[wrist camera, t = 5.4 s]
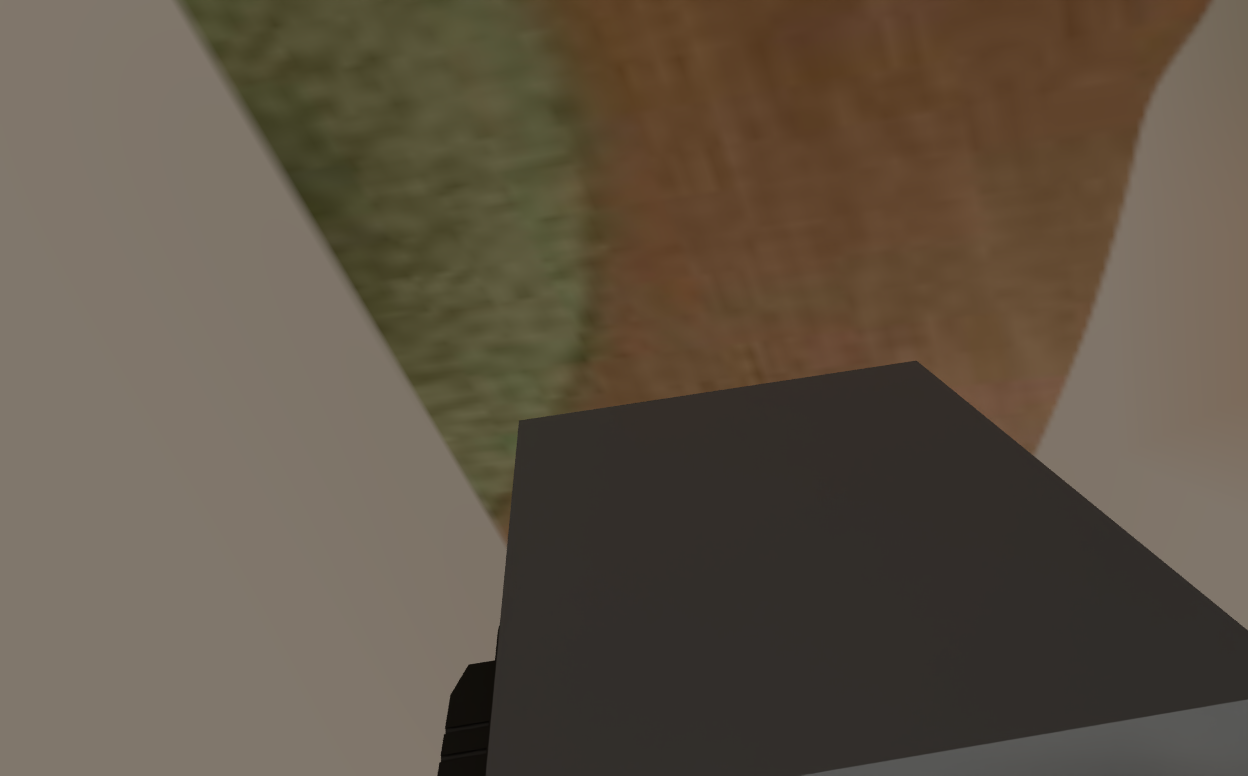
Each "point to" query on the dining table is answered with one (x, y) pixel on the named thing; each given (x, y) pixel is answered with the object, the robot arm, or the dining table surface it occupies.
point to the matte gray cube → (840, 600)
